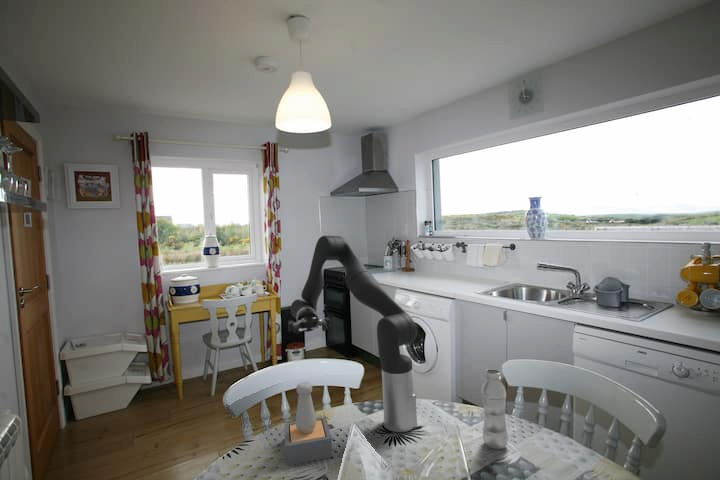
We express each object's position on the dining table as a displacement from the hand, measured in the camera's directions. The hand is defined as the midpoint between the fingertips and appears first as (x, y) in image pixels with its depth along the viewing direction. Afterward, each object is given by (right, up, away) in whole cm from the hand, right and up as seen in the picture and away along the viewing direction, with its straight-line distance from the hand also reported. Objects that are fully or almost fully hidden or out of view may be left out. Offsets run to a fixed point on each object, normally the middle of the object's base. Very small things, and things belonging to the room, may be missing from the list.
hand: (311, 329), depth 120 cm
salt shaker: (+1, -24, -18) cm, 30 cm away
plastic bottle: (+52, -26, -21) cm, 62 cm away
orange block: (+1, -27, -18) cm, 32 cm away
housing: (+1, -28, -18) cm, 34 cm away
